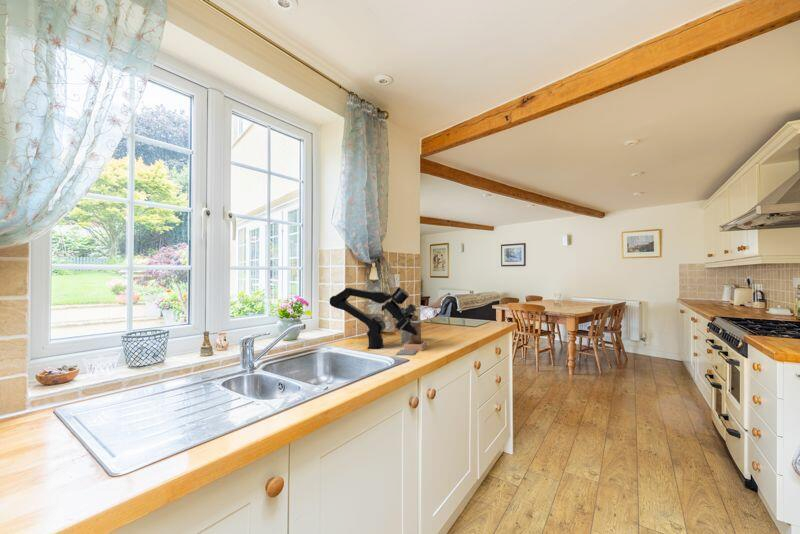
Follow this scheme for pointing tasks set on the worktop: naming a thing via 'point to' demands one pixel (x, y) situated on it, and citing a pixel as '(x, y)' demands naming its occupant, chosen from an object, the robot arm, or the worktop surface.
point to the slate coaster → (406, 352)
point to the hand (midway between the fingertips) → (418, 333)
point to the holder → (415, 346)
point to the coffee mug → (405, 336)
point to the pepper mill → (417, 326)
